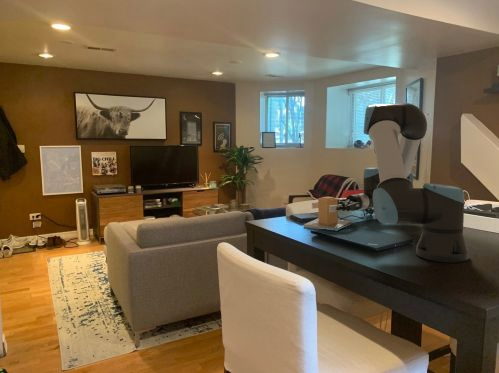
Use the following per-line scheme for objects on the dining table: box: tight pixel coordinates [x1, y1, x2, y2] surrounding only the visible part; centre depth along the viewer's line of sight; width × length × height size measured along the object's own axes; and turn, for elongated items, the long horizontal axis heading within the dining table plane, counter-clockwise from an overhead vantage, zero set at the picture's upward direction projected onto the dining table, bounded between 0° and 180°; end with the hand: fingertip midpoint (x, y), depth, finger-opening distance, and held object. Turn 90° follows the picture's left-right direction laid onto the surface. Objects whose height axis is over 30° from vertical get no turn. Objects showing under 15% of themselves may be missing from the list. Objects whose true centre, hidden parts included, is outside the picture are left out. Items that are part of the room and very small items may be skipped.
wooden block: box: [317, 196, 339, 225], centre depth 165 cm, size 6×6×12 cm
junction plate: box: [303, 218, 352, 230], centre depth 165 cm, size 16×16×4 cm
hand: (320, 207), depth 162 cm, fingers open, 11 cm apart
